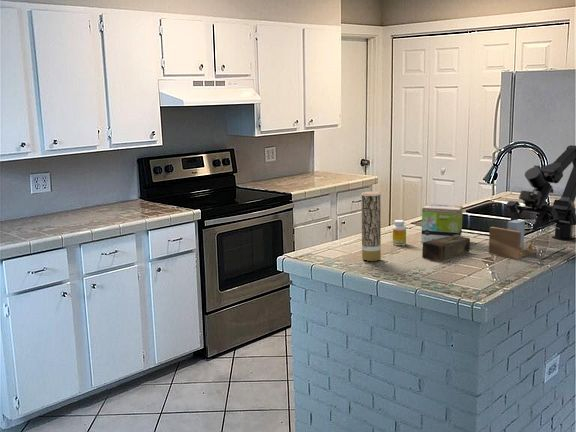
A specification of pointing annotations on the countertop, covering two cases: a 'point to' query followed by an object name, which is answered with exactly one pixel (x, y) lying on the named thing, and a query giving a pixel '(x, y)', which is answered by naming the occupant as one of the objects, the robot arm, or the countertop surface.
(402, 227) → the supplement bottle
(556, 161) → the robot arm
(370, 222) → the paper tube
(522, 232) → the grey block
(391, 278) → the countertop surface
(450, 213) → the tea box
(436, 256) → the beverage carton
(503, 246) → the wooden knob panel
